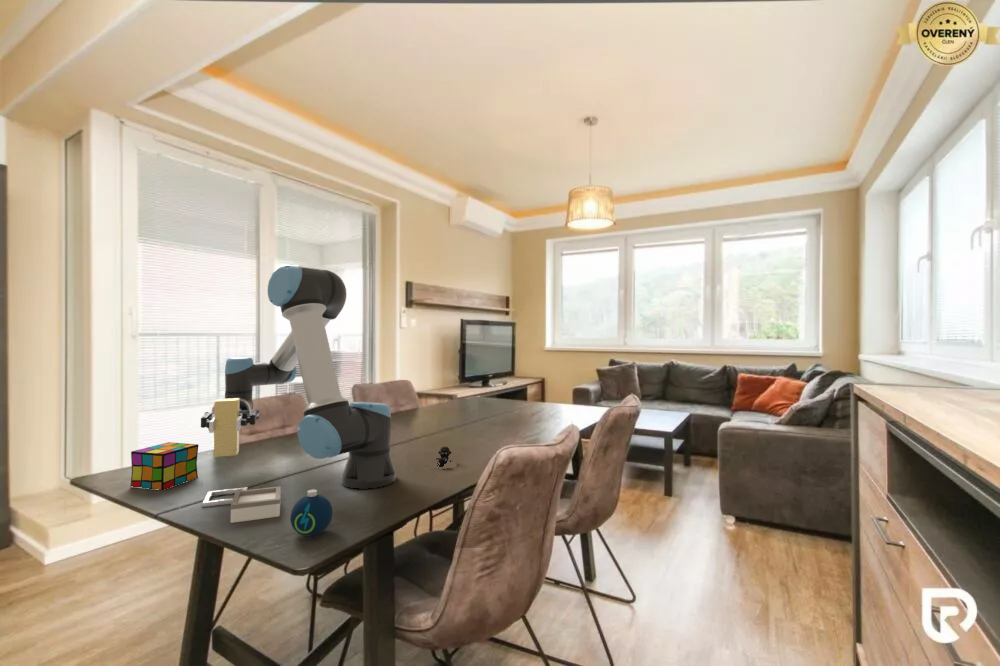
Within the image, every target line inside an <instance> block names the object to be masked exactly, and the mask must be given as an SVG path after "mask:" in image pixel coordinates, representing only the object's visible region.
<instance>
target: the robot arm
mask: <svg viewBox="0 0 1000 666" xmlns="http://www.w3.org/2000/svg"><path fill="white" fill-rule="evenodd" d="M267 283H268V284H267V297H268V300H269V302H270V303H271V304H272V305H274V306H276V307H280V311H281V316H282V317H283V318H285V319H286V320H288V321H289V324H290V328H291V331H290V332H289V334H288V335H287V337H286V338H285V339H284V341H283V342H282V344H281V345H280V346H279V348H278V350H277V351H276V353H275V354H274V355H273V356H272V357H271V358H270V360H269V361H267V362H265V361H263V362H254V358H253V357H248V356H247V357H246V356H242V357H241V356H240V357H238V356H236V357H235V356H234V357H228V358H227V359H226V361H225V369H224V374H225V375H224V380H225V381H224V382H225V385H224V386H225V387H224V388H225V390H224V399H227V398H240V410H239V417H238V418H237V420H236V431H239V432H240V431H241V429H242V427H245V426H248V424H249V425H251V426H253V425H256V421H257V420H259V419H260V410H259V409H254V401H253V389H254V387H258V386H259V387H260V386H270V385H283V384H287V383H292V382H293V381H294V380H295V379H296V378H297V377H296V375H297V364H298V365H299V370H300V374H301V379H302V383H303V388H304V392H305V397H306V401H307V405H306V407H305V408H304V410H303V418H302V419H301V420H300V421H299V423H298V428H297V438H298V442H299V444H300V447H301V448H302V449H303V451H304V452H305V454H307V455H309V456H310V457H311V458H312V459H313V458H314V459H317V460H320V459H322V460H323V459H327V458H329V459H331V458H334V457H336V456H338V455H343V454H346V453H348V457H347V461H346V463H345V466H344V469H343V471H342V476H341V484H342V486H344V487H345V488H348V487H350V488H349V489H353V488H359V489H358V490H369V489H368V488H373V489H378V488H377V487H380V488H382V486H384V487H386V486H385V485H387V486H389V485H388V484H390V485H392V484H393V483H394V482H395V481H396V479H397V478H396V477H397V473H396V472H397V471H396V469H395V465H394V462H393V460H392V457H391V430H392V428H391V425H392V422H391V421H392V416H391V407H390V406H389V405H388V404H386V403H381V402H372V401H371V402H370V401H351V402H349V400H348V399H347V398H345V397H343V396H342V395H341V391H340V386H339V381H338V377H337V373H336V369H335V364H334V361H333V355H332V351H331V347H330V343H329V339H328V334H327V330H326V326H327V325H328V323H330V321H333V320H336V319H337V317H338V316H339V315H340V314H341V312H342V310H343V308H344V306H345V305H346V300H347V288H346V285H345V282H344V281H343V279H342V277H340V276H339V275H338V274H336V273H335V272H333V271H330V270H329V269H320V268H313V267H307V266H301V265H298V264H281V265H279V266H278V267H277V268H276V269H274V270H273V272H272V273H271V276H270V278H269V279H268V282H267ZM253 409H254V410H253ZM200 428H202V429H204V428H206V429H207V428H208V433H210V434H212V433H213V434H214V429H215V413H214V414H213V412H209V411H206V412H204V414H203V416H201V418H200ZM392 482H393V483H392ZM391 483H392V484H391Z"/></svg>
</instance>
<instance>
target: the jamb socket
mask: <svg viewBox="0 0 1000 666" xmlns="http://www.w3.org/2000/svg"><path fill="white" fill-rule="evenodd" d="M242 490H248V487H247V486H246V487H245V486H244V487H238V488H227V489H219V490H210V491H207V493H206V495H205V496H204V499H203V501H202V504H201V505H202V508H205V507H214V506H223V505H231V504H232V501H233V498H234V497H233V498H232V497H231V498H225V499H224V498H222V499H215V500H210V499H212V498H213V497H214V496H223V495H224V496H225V495H232V494H233V493H234V494H235V492H236V491H242ZM234 494H233V495H234Z"/></svg>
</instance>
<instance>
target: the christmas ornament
mask: <svg viewBox="0 0 1000 666" xmlns="http://www.w3.org/2000/svg"><path fill="white" fill-rule="evenodd" d="M306 492H307V493H306V495H305V496H302V497H301V498H299V500H297V502H295V504H294V505H293V507H292V509H291V512H290V518H289V519H290V524H291V527H292V529H293V530H294V531H295V532H296V533H297V534H299V535H301V536H303V537H304V536H305V537H312V536H313V537H314V536H316V535H319V534H321V533H322V532H323V531H325V530H326V529H327V527H328V526H329V525H330V523H331V521H332V519H333V511H334V510H333V506H332V503H331V502H330V500H329V499H328V498H327V497H325V495H323V494H319V493H318V490H317V489H310V490H307V491H306Z"/></svg>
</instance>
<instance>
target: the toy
mask: <svg viewBox="0 0 1000 666" xmlns="http://www.w3.org/2000/svg"><path fill="white" fill-rule="evenodd" d="M198 453H199V444H198V443H196V444H195V443H186V442H184V443H183V442H171V441H169V442H168V441H167V442H164V443H160V444H156V445H152V446H148V447H145V448H141V449H136V450H131V451H130V457H131V459H130V460H131V476H130V477H131V478H130V487H131V486H133V487H142V488H149V489H159V490H164V489H166V490H168V489H167V488H169V489H171V488H170V487H172V486H175V485H177V486H179V485H178V484H180V485H182V484H181V483H183V482H186V481H189V480H191V481H193V480H192V479H194V480H196V479H195V478H197V479H199V476H198V475H199V474H198V466H197V463H198V462H197V461H198ZM189 482H190V481H189ZM186 483H187V482H186ZM183 484H184V483H183ZM175 487H176V486H175ZM172 488H173V487H172ZM164 491H165V490H164Z"/></svg>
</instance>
